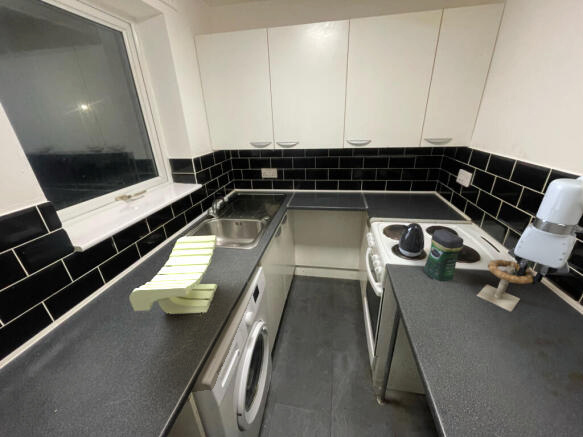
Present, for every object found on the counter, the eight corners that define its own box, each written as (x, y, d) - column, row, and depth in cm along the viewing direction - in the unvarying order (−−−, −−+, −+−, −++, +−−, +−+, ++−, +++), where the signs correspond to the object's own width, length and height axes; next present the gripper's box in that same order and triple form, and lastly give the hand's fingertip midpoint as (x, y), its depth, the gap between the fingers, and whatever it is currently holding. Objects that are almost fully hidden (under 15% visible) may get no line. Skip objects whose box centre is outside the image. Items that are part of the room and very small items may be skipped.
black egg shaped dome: (394, 247, 109) (398, 218, 103) (417, 248, 108) (423, 218, 102) (400, 259, 100) (405, 228, 94) (425, 260, 99) (433, 229, 92)
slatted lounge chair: (185, 274, 97) (175, 237, 90) (223, 272, 97) (215, 235, 90) (145, 336, 70) (125, 290, 62) (197, 334, 70) (184, 287, 62)
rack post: (518, 301, 76) (534, 268, 71) (509, 314, 71) (526, 280, 66) (485, 286, 83) (497, 256, 77) (475, 297, 78) (487, 266, 73)
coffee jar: (456, 281, 86) (470, 238, 78) (437, 284, 85) (450, 241, 77) (437, 266, 95) (448, 226, 87) (420, 269, 93) (429, 228, 86)
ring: (537, 275, 71) (540, 269, 70) (527, 290, 66) (530, 284, 65) (494, 260, 79) (496, 255, 78) (482, 272, 74) (484, 266, 73)
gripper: (602, 231, 58) (569, 289, 65) (517, 213, 70) (498, 263, 77) (598, 241, 54) (564, 301, 61) (509, 219, 66) (490, 272, 73)
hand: (527, 279), depth 69 cm, fingers closed on ring, 2 cm apart
